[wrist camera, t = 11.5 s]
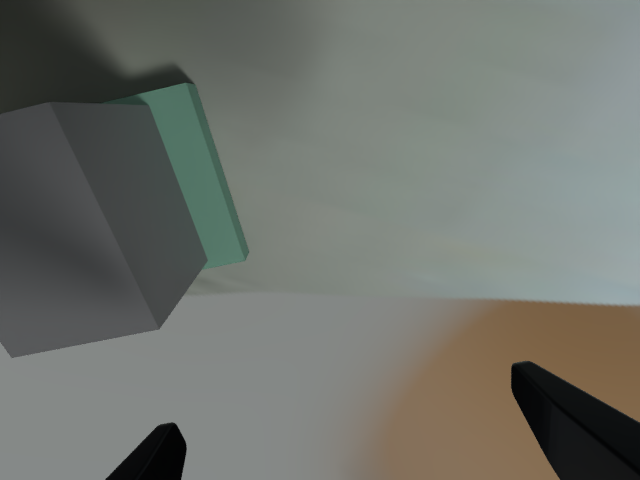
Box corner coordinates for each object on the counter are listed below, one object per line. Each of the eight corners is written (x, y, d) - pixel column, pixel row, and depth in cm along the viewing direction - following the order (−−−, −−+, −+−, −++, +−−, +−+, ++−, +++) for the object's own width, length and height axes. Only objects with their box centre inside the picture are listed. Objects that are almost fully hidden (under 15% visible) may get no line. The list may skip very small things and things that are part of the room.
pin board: (195, 84, 16) (167, 78, 13) (249, 252, 19) (237, 278, 16) (4, 130, 16) (-66, 134, 13) (88, 284, 19) (47, 316, 16)
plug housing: (149, 105, 15) (48, 101, 9) (207, 260, 18) (159, 329, 12) (27, 134, 15) (-140, 147, 10) (105, 281, 18) (11, 357, 12)
